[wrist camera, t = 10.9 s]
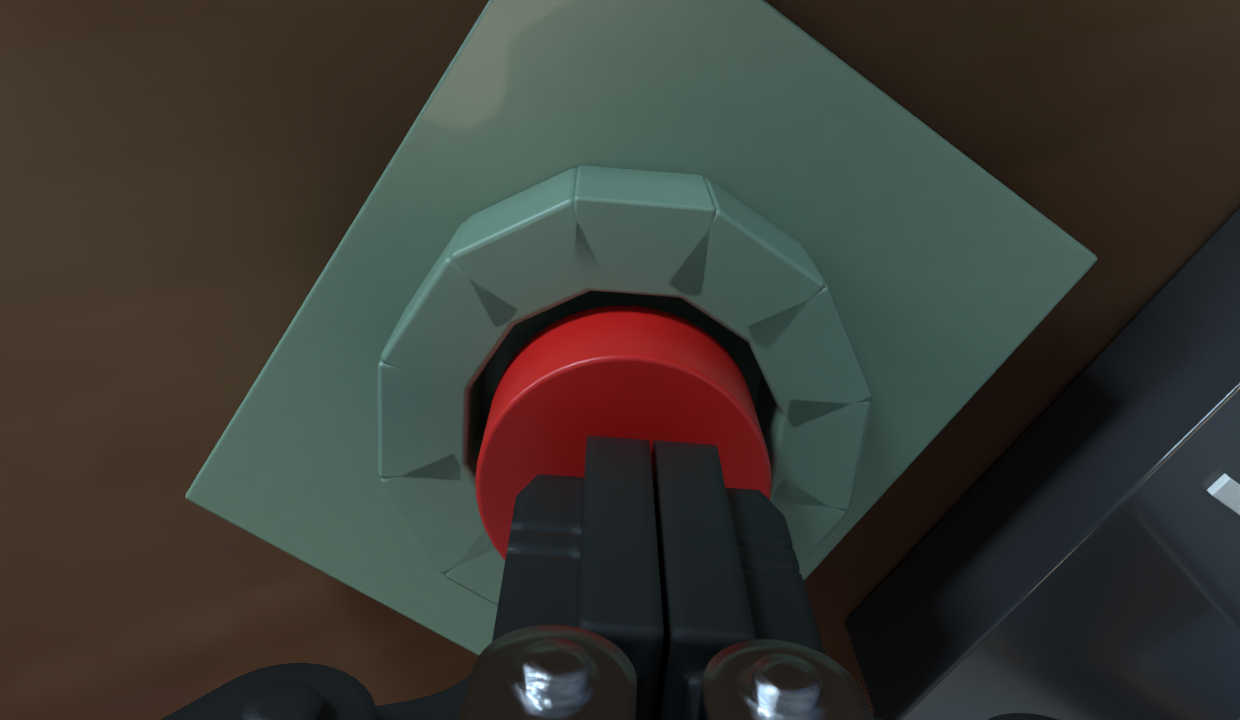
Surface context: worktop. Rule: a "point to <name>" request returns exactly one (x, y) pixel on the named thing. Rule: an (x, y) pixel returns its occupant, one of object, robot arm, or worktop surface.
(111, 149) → the worktop surface
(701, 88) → the block
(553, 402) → the button
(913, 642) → the panel
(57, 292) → the worktop surface
